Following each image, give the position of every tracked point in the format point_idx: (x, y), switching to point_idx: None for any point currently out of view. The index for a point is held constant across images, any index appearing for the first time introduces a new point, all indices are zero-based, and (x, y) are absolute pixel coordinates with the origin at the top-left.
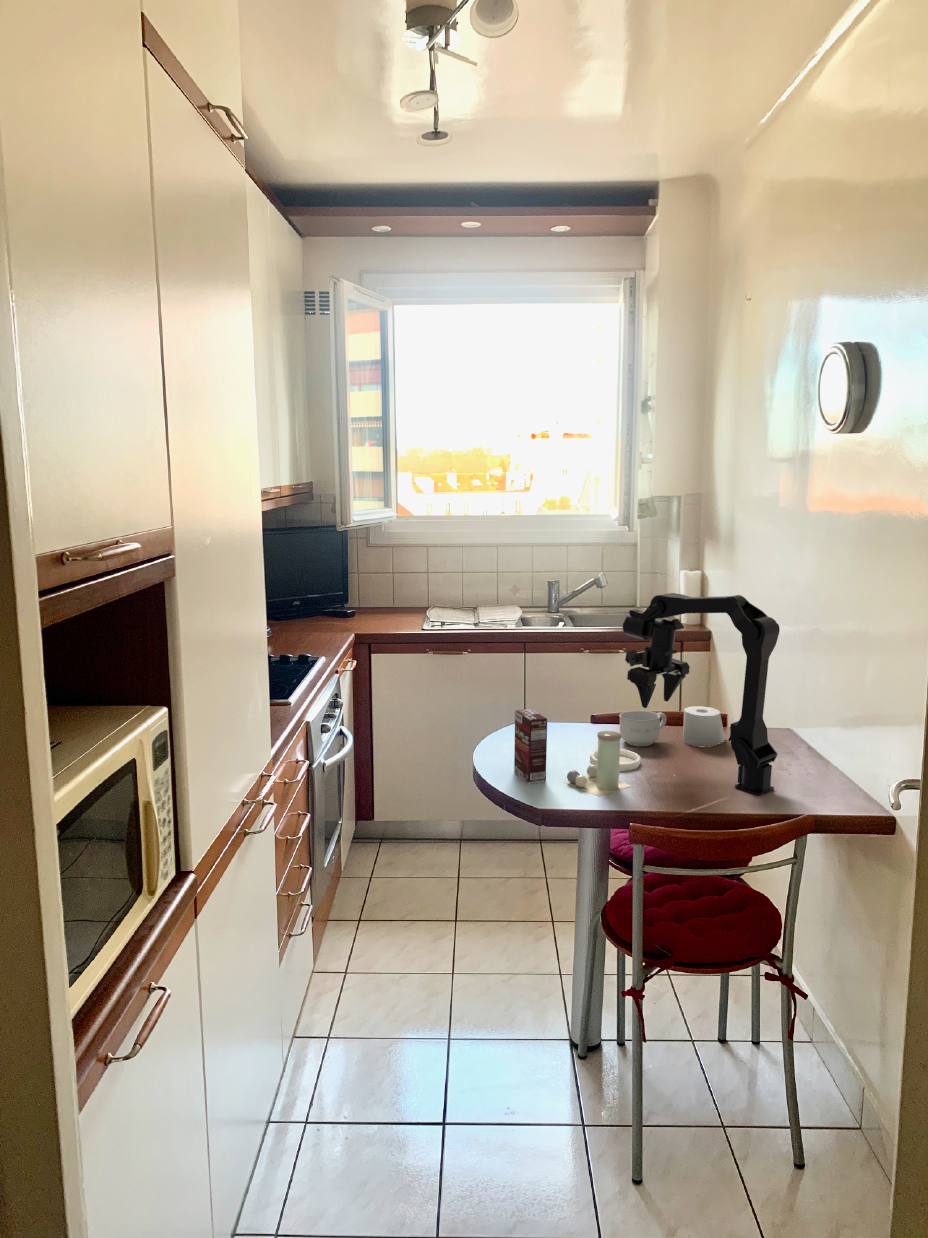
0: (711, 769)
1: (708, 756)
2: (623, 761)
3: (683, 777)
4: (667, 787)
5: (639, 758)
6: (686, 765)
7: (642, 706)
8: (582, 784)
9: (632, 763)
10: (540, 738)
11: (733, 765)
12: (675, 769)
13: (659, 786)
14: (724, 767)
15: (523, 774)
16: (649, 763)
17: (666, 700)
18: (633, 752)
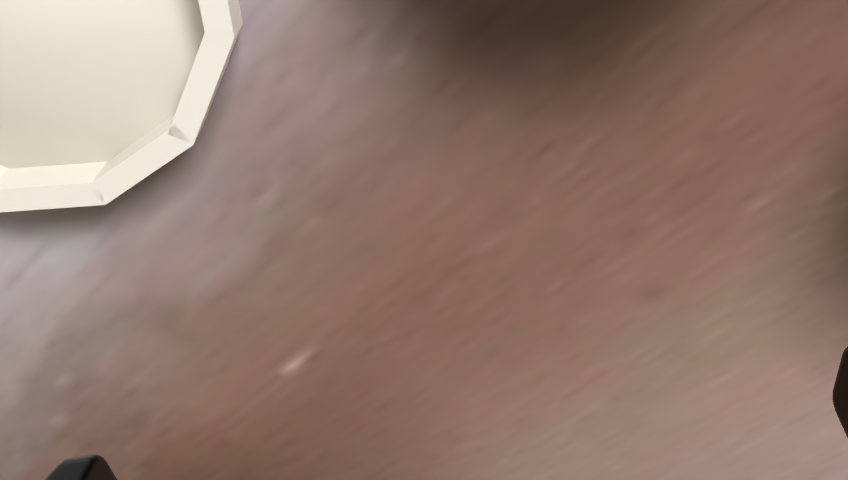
0: (580, 400)
1: (809, 241)
2: (76, 20)
3: (316, 411)
4: None
5: (163, 160)
6: (515, 287)
7: (60, 470)
8: None
9: (33, 207)
10: None
11: (749, 414)
12: (384, 302)
13: (71, 439)
14: (674, 412)
15: None
16: (309, 124)
17: (842, 400)
18: (221, 5)
